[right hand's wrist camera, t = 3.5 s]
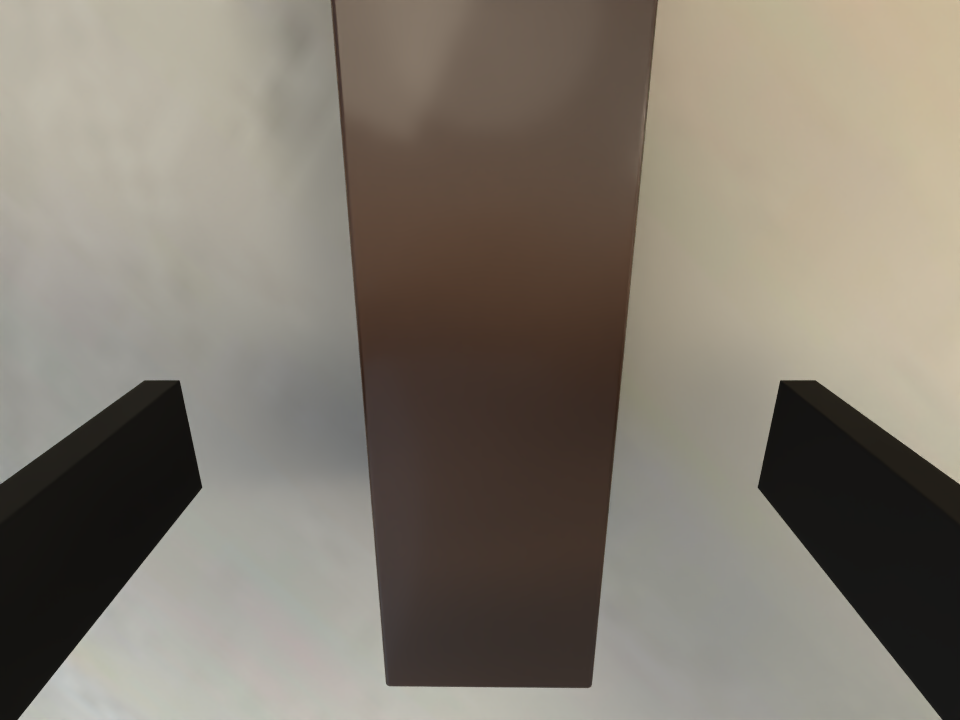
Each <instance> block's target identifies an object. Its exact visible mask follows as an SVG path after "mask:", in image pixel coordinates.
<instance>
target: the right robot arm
mask: <svg viewBox="0 0 960 720" xmlns="http://www.w3.org/2000/svg"><path fill="white" fill-rule="evenodd" d="M201 489H202V484H201V479H200V475H199V470H198V465H197V460H196V456H195V451H194V446H193V441H192V437H191V432H190V427H189V423H188V418H187V413H186V408H185V404H184V399H183V394H182V389H181V385H180V380H145V381H143V382H142V383H140V384H139V385H138V386H136V387H135V388H133V389H132V390H131V391H129V392H128V393H126V394H125V395H124V396H122V397H121V398H120V399H118V400H117V401H115V402H114V403H113V404H111V405H110V406H108V407H107V408H106V409H104V410H103V411H102V412H100V413H99V414H97V415H96V416H95V417H93V418H92V419H90V420H89V421H88V422H86V423H85V424H84V425H82V426H81V427H79V428H78V429H77V430H75V431H74V432H72V433H71V434H70V435H68V436H67V437H65V438H64V439H63V440H61V441H60V442H59V443H57V444H56V445H54V446H53V447H52V448H50V449H49V450H47V451H46V452H45V453H43V454H42V455H41V456H39V457H38V458H36V459H35V460H34V461H32V462H31V463H29V464H28V465H27V466H25V467H24V468H23V469H21V470H20V471H18V472H17V473H16V474H14V475H13V476H11V477H10V478H9V479H7V480H6V481H5V482H3V483H2V484H0V720H18V719H19V717H20V716H21V715H22V713H23V712H24V711H25V710H26V708H27V707H28V706H29V705H30V703H31V702H32V701H33V700H34V698H35V697H36V696H37V695H38V693H39V692H40V691H41V690H42V688H43V687H44V686H45V685H46V683H47V682H48V681H49V680H50V678H51V677H52V676H53V675H54V673H55V672H56V671H57V669H58V668H59V667H60V666H61V664H62V663H63V662H64V661H65V659H66V658H67V657H68V656H69V654H70V653H71V652H72V651H73V649H74V648H75V647H76V646H77V644H78V643H79V642H80V641H81V639H82V638H83V637H84V636H85V634H86V633H87V632H88V631H89V629H90V628H91V627H92V626H93V624H94V623H95V622H96V620H97V619H98V618H99V617H100V615H101V614H102V613H103V612H104V610H105V609H106V608H107V607H108V605H109V604H110V603H111V602H112V600H113V599H114V598H115V597H116V595H117V594H118V593H119V592H120V590H121V589H122V588H123V587H124V585H125V584H126V583H127V582H128V580H129V579H130V578H131V576H132V575H133V574H134V573H135V571H136V570H137V569H138V568H139V566H140V565H141V564H142V563H143V561H144V560H145V559H146V558H147V556H148V555H149V554H150V553H151V551H152V550H153V549H154V548H155V546H156V545H157V544H158V543H159V541H160V540H161V539H162V538H163V536H164V535H165V534H166V532H167V531H168V530H169V529H170V527H171V526H172V525H173V524H174V522H175V521H176V520H177V519H178V517H179V516H180V515H181V514H182V512H183V511H184V510H185V509H186V507H187V506H188V505H189V504H190V502H191V501H192V500H193V499H194V497H195V496H196V495H197V494H198V492H199V491H200V490H201ZM758 489H759V490H760V491H761V492H762V494H763V495H764V496H765V497H766V499H767V500H768V501H769V502H770V504H771V505H772V506H773V507H774V509H775V510H776V511H777V512H778V514H779V515H780V516H781V517H782V519H783V520H784V521H785V522H786V524H787V525H788V526H789V527H790V529H791V530H792V531H793V532H794V534H795V535H796V536H797V538H798V539H799V540H800V541H801V543H802V544H803V545H804V546H805V548H806V549H807V550H808V551H809V553H810V554H811V555H812V556H813V558H814V559H815V560H816V561H817V563H818V564H819V565H820V566H821V568H822V569H823V570H824V571H825V573H826V574H827V575H828V576H829V578H830V579H831V580H832V582H833V583H834V584H835V585H836V587H837V588H838V589H839V590H840V592H841V593H842V594H843V595H844V597H845V598H846V599H847V600H848V602H849V603H850V604H851V605H852V607H853V608H854V609H855V610H856V612H857V613H858V614H859V615H860V617H861V618H862V619H863V620H864V622H865V623H866V624H867V626H868V627H869V628H870V629H871V631H872V632H873V633H874V634H875V636H876V637H877V638H878V639H879V641H880V642H881V643H882V644H883V646H884V647H885V648H886V649H887V651H888V652H889V653H890V654H891V656H892V657H893V658H894V659H895V661H896V662H897V663H898V664H899V666H900V667H901V668H902V669H903V671H904V672H905V673H906V675H907V676H908V677H909V678H910V680H911V681H912V682H913V683H914V685H915V686H916V687H917V688H918V690H919V691H920V692H921V693H922V695H923V696H924V697H925V698H926V700H927V701H928V702H929V703H930V705H931V706H932V707H933V708H934V710H935V711H936V712H937V713H938V715H939V716H940V717H941V719H942V720H960V484H958V483H957V482H955V481H954V480H953V479H951V478H950V477H949V476H947V475H946V474H944V473H943V472H942V471H940V470H939V469H937V468H936V467H935V466H933V465H932V464H931V463H929V462H928V461H926V460H925V459H924V458H922V457H921V456H919V455H918V454H917V453H915V452H914V451H913V450H911V449H910V448H908V447H907V446H906V445H904V444H903V443H901V442H900V441H899V440H897V439H896V438H895V437H893V436H892V435H890V434H889V433H888V432H886V431H885V430H883V429H882V428H881V427H879V426H878V425H876V424H875V423H874V422H872V421H871V420H870V419H868V418H867V417H865V416H864V415H863V414H861V413H860V412H858V411H857V410H856V409H854V408H853V407H852V406H850V405H849V404H847V403H846V402H845V401H843V400H842V399H840V398H839V397H838V396H836V395H835V394H834V393H832V392H831V391H829V390H828V389H827V388H825V387H824V386H822V385H821V384H820V383H818V382H817V381H815V380H780V385H779V389H778V394H777V399H776V404H775V408H774V413H773V418H772V422H771V427H770V432H769V437H768V441H767V446H766V451H765V456H764V460H763V465H762V470H761V475H760V479H759V484H758Z"/></svg>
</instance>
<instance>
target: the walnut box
mask: <svg viewBox="0 0 960 720" xmlns="http://www.w3.org/2000/svg"><path fill="white" fill-rule="evenodd" d="M657 5H658V0H331V9H332V21H333V34H334V46H335V58H336V71H337V83H338V95H339V108H340V120H341V133H342V145H343V157H344V170H345V182H346V194H347V207H348V219H349V232H350V244H351V256H352V269H353V281H354V293H355V306H356V318H357V331H358V343H359V355H360V368H361V380H362V393H363V405H364V417H365V430H366V442H367V454H368V467H369V479H370V492H371V504H372V516H373V529H374V541H375V553H376V566H377V578H378V591H379V603H380V615H381V628H382V640H383V652H384V665H385V677H386V684H387V685H388V686H425V687H535V688H590V687H591V685H592V678H593V668H594V658H595V647H596V637H597V627H598V616H599V606H600V595H601V585H602V575H603V564H604V554H605V544H606V533H607V523H608V513H609V502H610V492H611V481H612V471H613V461H614V450H615V440H616V430H617V419H618V409H619V399H620V388H621V378H622V367H623V357H624V347H625V336H626V326H627V316H628V305H629V295H630V285H631V274H632V264H633V253H634V243H635V233H636V222H637V212H638V202H639V191H640V181H641V171H642V160H643V150H644V139H645V129H646V119H647V108H648V98H649V88H650V77H651V67H652V56H653V46H654V36H655V25H656V15H657Z"/></svg>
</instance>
